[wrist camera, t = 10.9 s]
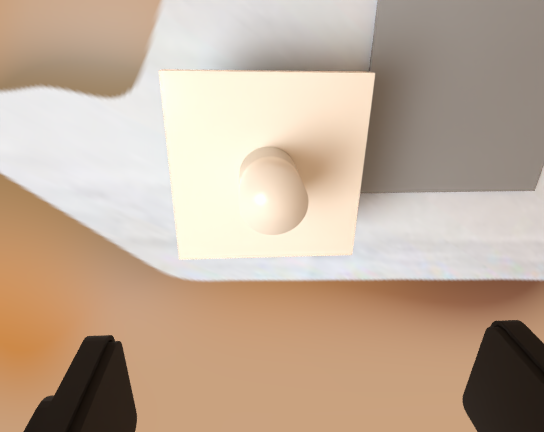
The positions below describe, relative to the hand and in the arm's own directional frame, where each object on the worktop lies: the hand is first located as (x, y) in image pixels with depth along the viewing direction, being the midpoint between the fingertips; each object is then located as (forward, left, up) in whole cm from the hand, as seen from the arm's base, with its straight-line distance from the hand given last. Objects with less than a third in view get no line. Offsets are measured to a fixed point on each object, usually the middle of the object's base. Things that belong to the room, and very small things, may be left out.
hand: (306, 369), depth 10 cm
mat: (-16, -4, -22) cm, 27 cm away
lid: (0, 0, -16) cm, 16 cm away
